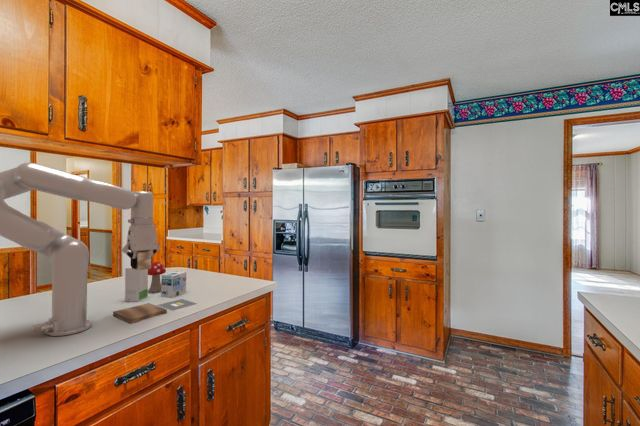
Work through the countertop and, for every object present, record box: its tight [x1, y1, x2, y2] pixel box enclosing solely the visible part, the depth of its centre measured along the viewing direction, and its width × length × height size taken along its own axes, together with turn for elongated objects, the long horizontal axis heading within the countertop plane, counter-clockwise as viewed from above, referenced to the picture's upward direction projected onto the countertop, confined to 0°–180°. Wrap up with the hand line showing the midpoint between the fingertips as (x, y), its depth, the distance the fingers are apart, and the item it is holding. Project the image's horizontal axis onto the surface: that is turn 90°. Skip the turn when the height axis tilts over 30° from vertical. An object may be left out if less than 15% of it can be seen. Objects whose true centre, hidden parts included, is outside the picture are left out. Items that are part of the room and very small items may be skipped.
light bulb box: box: [160, 270, 187, 299], centre depth 153 cm, size 11×7×11 cm, turn 168°
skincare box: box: [124, 265, 149, 303], centre depth 143 cm, size 8×7×16 cm
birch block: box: [132, 250, 151, 270], centre depth 124 cm, size 5×5×7 cm
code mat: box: [157, 298, 198, 312], centre depth 137 cm, size 12×12×1 cm
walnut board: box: [112, 302, 168, 324], centre depth 124 cm, size 14×14×2 cm
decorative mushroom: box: [148, 261, 167, 294], centre depth 158 cm, size 10×9×15 cm
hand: (141, 266), depth 124 cm, fingers closed on birch block, 5 cm apart
